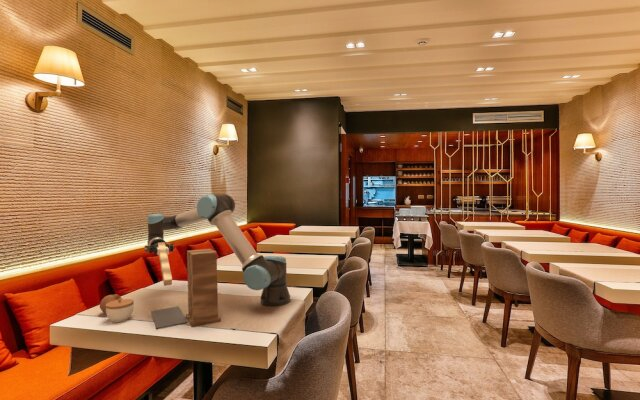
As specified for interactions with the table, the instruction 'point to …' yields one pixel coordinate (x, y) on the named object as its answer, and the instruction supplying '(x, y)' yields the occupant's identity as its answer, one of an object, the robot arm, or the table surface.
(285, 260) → the robot arm
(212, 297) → the walnut pedestal
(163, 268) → the maple bar
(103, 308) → the onion
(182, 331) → the table surface
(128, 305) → the lidded jar
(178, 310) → the rubber mat
